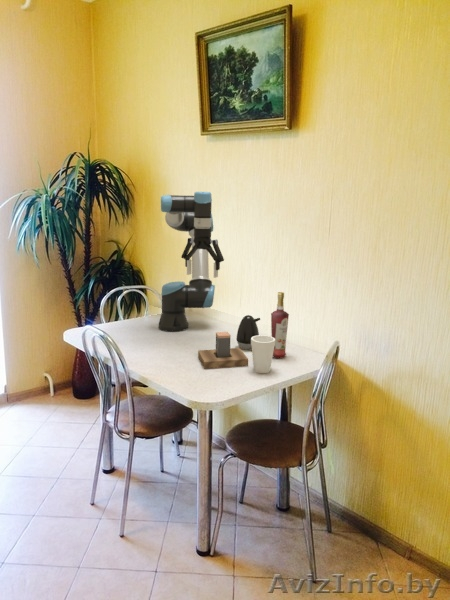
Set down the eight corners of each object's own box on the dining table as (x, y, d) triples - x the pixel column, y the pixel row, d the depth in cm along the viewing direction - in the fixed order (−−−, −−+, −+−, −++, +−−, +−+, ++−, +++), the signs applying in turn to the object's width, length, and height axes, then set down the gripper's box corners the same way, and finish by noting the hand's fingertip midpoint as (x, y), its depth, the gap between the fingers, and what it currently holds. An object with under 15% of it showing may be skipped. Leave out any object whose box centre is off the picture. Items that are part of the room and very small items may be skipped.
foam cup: (261, 364, 197) (262, 333, 194) (278, 370, 191) (280, 339, 188) (245, 369, 191) (246, 338, 188) (262, 376, 184) (264, 344, 181)
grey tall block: (217, 364, 196) (218, 336, 193) (215, 359, 201) (215, 332, 198) (229, 363, 197) (230, 335, 195) (227, 359, 202) (227, 331, 199)
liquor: (277, 360, 201) (280, 295, 195) (265, 355, 207) (268, 292, 201) (290, 357, 205) (293, 293, 199) (278, 352, 211) (281, 290, 205)
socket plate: (204, 369, 190) (204, 361, 190) (198, 357, 204) (198, 350, 203) (248, 366, 195) (248, 359, 194) (239, 354, 208) (239, 347, 207)
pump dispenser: (257, 352, 211) (258, 319, 207) (234, 350, 213) (235, 317, 209) (260, 345, 221) (261, 313, 217) (238, 343, 222) (239, 311, 219)
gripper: (173, 226, 211) (174, 274, 216) (224, 229, 201) (223, 279, 205) (182, 225, 218) (182, 271, 223) (232, 228, 207) (231, 277, 212)
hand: (202, 275), depth 214 cm, fingers open, 13 cm apart
